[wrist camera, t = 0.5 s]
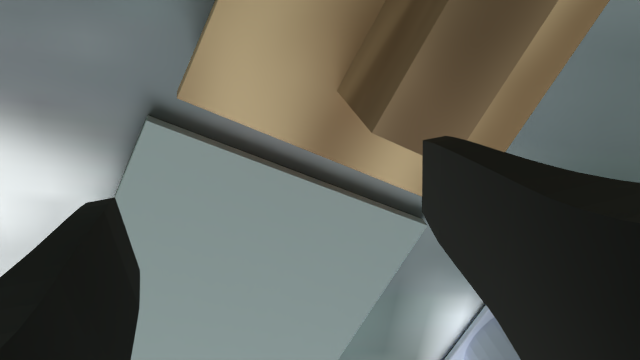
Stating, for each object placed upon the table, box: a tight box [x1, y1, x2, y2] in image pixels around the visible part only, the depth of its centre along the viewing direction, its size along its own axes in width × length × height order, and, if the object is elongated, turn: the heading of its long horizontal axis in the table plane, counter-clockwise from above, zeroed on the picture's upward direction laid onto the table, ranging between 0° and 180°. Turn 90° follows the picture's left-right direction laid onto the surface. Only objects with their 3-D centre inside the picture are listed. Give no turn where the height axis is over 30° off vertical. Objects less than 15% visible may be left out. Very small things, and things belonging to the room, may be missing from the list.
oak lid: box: [177, 0, 609, 196], centre depth 16 cm, size 13×13×5 cm
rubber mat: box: [114, 115, 427, 360], centre depth 24 cm, size 14×14×1 cm
